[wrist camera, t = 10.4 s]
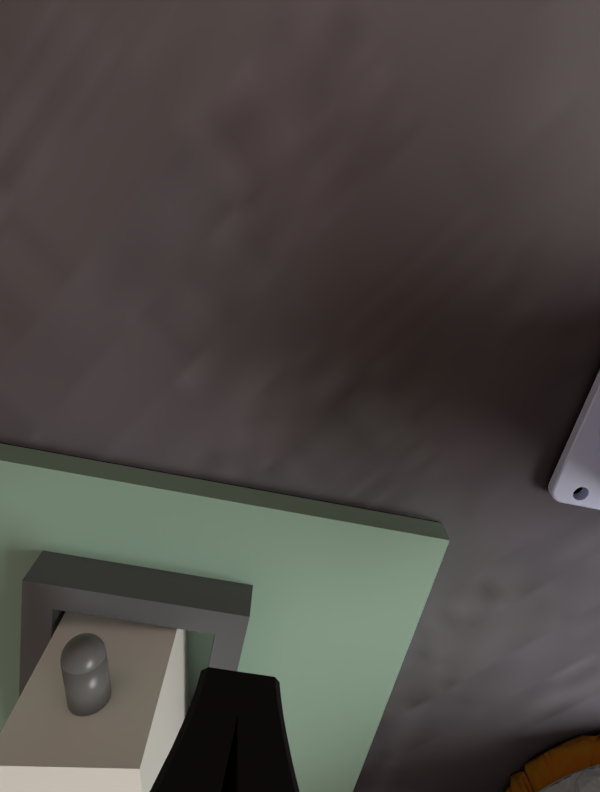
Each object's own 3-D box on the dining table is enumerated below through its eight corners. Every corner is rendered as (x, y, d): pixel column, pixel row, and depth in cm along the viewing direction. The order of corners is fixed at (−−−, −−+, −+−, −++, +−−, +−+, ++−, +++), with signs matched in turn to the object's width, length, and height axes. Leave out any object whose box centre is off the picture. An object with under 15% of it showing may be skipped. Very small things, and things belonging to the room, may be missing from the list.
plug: (182, 549, 18) (133, 708, 13) (191, 733, 22) (155, 921, 16) (66, 546, 18) (-34, 704, 13) (93, 731, 22) (23, 919, 16)
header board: (442, 523, 19) (462, 569, 17) (338, 801, 25) (342, 864, 23) (-134, 419, 18) (-199, 455, 15) (-103, 743, 23) (-147, 804, 21)
